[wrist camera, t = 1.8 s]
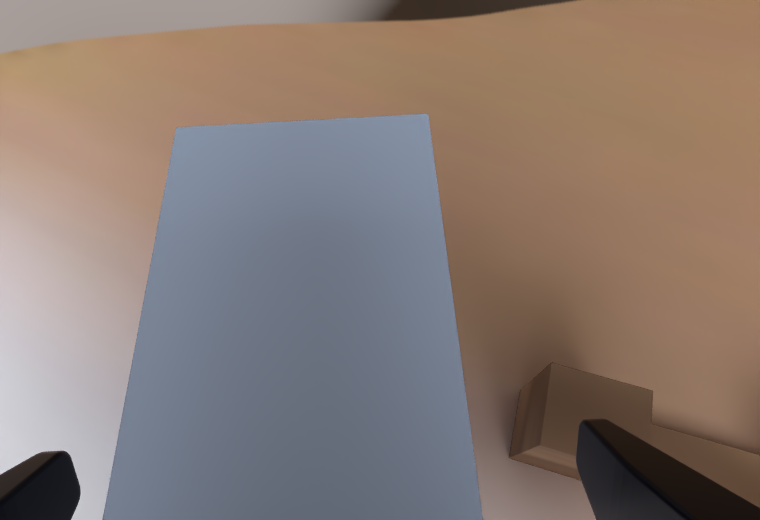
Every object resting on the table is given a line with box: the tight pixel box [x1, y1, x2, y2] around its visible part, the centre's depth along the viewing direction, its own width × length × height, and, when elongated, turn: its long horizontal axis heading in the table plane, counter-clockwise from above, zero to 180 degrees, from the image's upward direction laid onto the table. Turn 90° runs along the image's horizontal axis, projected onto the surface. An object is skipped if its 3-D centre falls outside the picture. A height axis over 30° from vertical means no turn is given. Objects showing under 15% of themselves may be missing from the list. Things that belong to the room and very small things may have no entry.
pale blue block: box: [103, 114, 483, 520], centre depth 12 cm, size 6×4×13 cm, turn 3°
